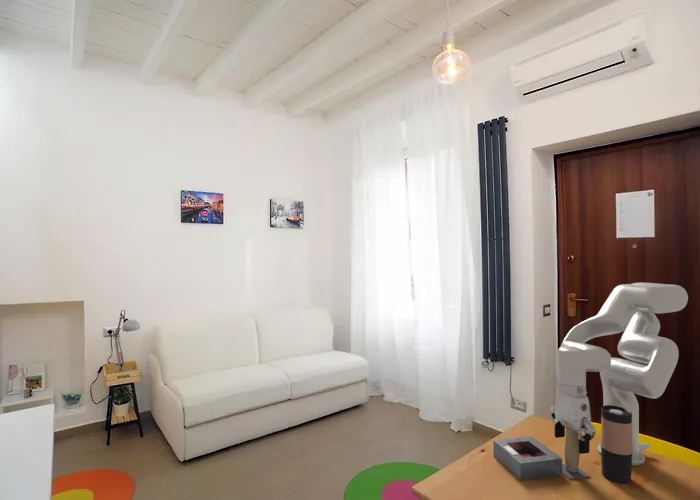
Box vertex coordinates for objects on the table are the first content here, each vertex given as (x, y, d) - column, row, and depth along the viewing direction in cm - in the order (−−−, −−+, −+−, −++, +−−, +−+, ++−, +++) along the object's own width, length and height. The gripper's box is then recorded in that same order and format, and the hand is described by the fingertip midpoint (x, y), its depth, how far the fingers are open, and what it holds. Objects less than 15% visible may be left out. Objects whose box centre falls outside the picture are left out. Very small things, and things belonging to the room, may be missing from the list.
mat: (572, 464, 121) (572, 463, 121) (590, 477, 114) (590, 475, 114) (552, 466, 120) (552, 465, 120) (569, 479, 113) (569, 478, 113)
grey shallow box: (531, 451, 129) (531, 435, 129) (562, 475, 115) (562, 457, 115) (493, 455, 126) (493, 439, 126) (520, 480, 113) (520, 462, 113)
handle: (587, 475, 115) (588, 424, 115) (565, 474, 115) (566, 424, 115) (577, 466, 120) (578, 417, 120) (556, 465, 120) (557, 417, 120)
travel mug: (598, 477, 114) (598, 410, 114) (603, 467, 120) (603, 402, 120) (630, 488, 109) (630, 418, 109) (633, 477, 115) (634, 409, 115)
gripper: (606, 398, 109) (605, 458, 109) (561, 378, 126) (561, 430, 126) (583, 400, 108) (583, 461, 108) (541, 379, 125) (541, 432, 125)
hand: (571, 444), depth 117 cm, fingers open, 9 cm apart
